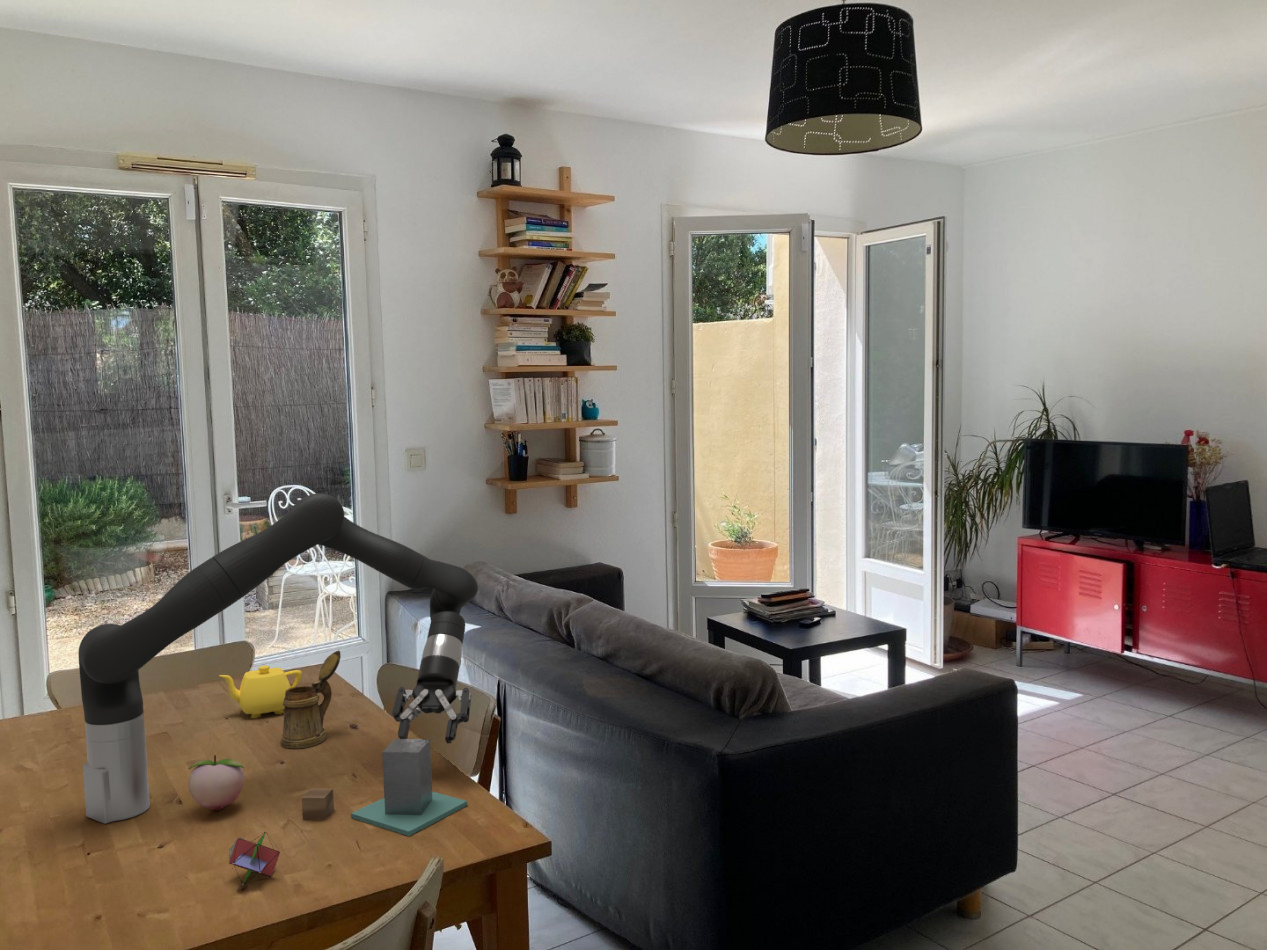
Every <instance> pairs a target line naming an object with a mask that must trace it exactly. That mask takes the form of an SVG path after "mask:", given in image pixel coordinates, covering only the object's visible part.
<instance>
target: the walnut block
mask: <svg viewBox="0 0 1267 950" xmlns="http://www.w3.org/2000/svg"><path fill="white" fill-rule="evenodd" d="M334 798H335V797H334V788H320V787H319V788H313V787H312V788H310V789H309V790H308V791H307V792H306V793H305V794H304V795H303V796H302V797H301V811H302V812H301V813H302V814H301V815H302V821H304V820H305V821H326V820H327V819H328V818H329V817H330V816H331V814H332V813H333V812H334V811H335V799H334Z"/></svg>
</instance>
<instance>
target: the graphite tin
mask: <svg viewBox="0 0 1267 950" xmlns="http://www.w3.org/2000/svg"><path fill="white" fill-rule="evenodd" d="M381 754H382V756H381V757H382V773H383V774H382V777H383V798H384V801H385V814H393V815H422V814H423V812H424V811H425V809H426V808H427V807H428V805H429V804H430V802H431V801H432V791H433V782H432V780H433V778H432V759H431V758H432V756H431V755H432V753H431V739H430V738H429V739H428V738H425V739H424V738H407V739H399V738H394V739H393V740H392V741H391V742H390V743H389V744H388V745H387V746H386V748H384V749H383V751H382V753H381Z"/></svg>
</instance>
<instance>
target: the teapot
mask: <svg viewBox="0 0 1267 950" xmlns="http://www.w3.org/2000/svg"><path fill="white" fill-rule="evenodd" d="M257 668H258V669H256V670H254V669H253V670H250V671H246V672H245V673H244V675H243V677H242V680H241V682H240V686H239V687H240V688H239V689H237V687H236V686H235V681H234V679H233V677H231V676H230V675H228V674H219V675H218V676H219V677H221V678H222V679H224V680H225V682H226V683H227V686H228V691H229V695H230V697H231V699H233V700H234V701H235V702H237V703H238V704H239V707H240V709H241V711H242V712H243V713H244V714H247V715H251V716H250V718H251V719H258V718H257V717H259V718H260V716H261V715H262V714H268V713H272V712H273V713H274V715H276V714H280V715H283V714H284V709H285V706H283V701H284V698H285V692H286V690H287V689H289V688H293V687H298V685H299V683H300V682H301V680H302V677H303V671H302V670H300V669H294V670H290V671H284V669H282V668H281V667H270V665H261V666H258V667H257ZM288 676H294V677H295V678H294V680H293V683H292V685H290V681H289V679H288ZM282 713H283V714H282ZM261 717H262V716H261Z"/></svg>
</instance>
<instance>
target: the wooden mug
mask: <svg viewBox="0 0 1267 950" xmlns="http://www.w3.org/2000/svg"><path fill="white" fill-rule="evenodd" d="M341 658H342V656H341V651H340V650H337V651H335V652H333V653H331V654H330V655H328V656H327V657H326V658H325V660H324V661H323V663H322V666H321V667H320V670H319V672H318V673H319V674H318V680H317V681H314V682H313V683H311V686H307V685H299V686H298V685H297V686H296V687H293V688H289V689H287V690H286V692H285V698H284V701H283V706H285V709H283V711H284V713H283V725H282V726H283V727H282V734H281V737H280V746H281V747H282V748H286V749H292V750H293V749H297V750H298V749H305V748H310V747H314V746H317V745H319V744H321V743H323V742H324V741H325V740H326V737H327V736H326V735H327V733H326V730H325V728H324V726H323V725H324V718H325V715H326V712H327V710H328V708H329V705H330V702H331V701H332V687H331V685H330V683H329V682H328V680H329V679H331V678H332V676H333V675H334V674H335V673H336V671H337V670H338V667H339V664H340V661H341ZM318 694H321V695H322V696H323V700H322V702H321V703H320V704H319V701H320V696H319V695H318Z"/></svg>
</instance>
